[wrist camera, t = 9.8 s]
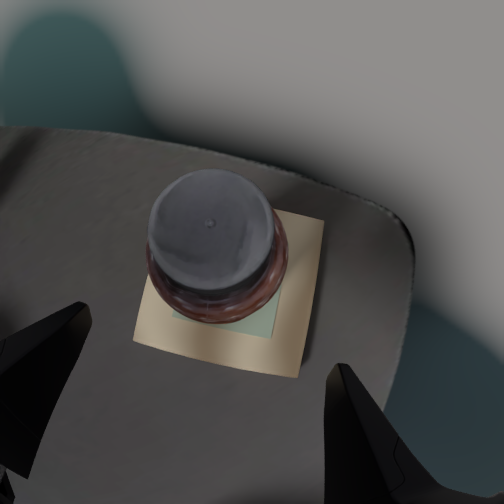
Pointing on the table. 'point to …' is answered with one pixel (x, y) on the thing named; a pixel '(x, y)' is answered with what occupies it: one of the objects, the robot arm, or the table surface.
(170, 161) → the table surface
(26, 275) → the table surface
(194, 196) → the supplement bottle
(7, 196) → the table surface
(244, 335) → the board
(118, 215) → the table surface
